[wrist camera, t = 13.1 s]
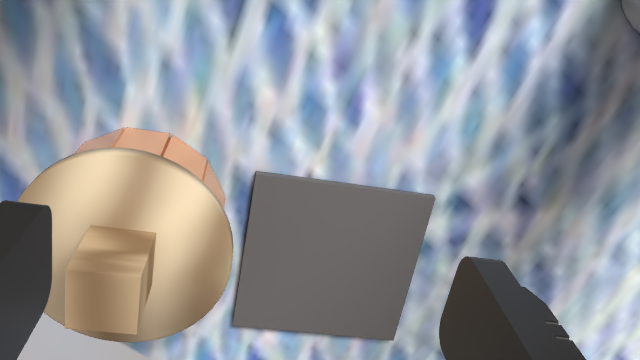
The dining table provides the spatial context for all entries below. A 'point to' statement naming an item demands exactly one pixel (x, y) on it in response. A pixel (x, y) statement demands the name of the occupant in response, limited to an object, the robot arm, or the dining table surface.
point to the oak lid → (131, 244)
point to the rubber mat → (329, 256)
